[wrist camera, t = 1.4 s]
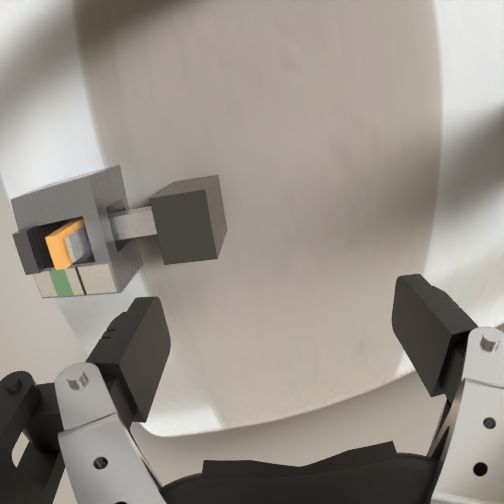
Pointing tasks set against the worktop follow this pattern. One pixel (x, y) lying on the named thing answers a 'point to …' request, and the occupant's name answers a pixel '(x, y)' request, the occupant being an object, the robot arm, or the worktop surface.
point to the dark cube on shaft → (170, 222)
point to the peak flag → (62, 243)
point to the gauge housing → (98, 229)
